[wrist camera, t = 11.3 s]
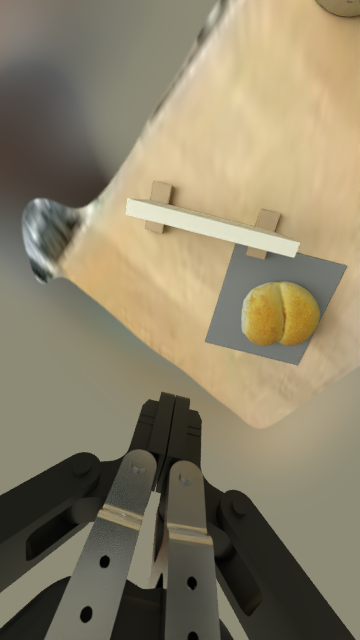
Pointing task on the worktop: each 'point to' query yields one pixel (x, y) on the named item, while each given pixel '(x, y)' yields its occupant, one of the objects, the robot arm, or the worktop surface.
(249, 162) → the worktop surface
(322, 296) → the mat
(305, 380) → the worktop surface
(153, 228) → the screen
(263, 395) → the worktop surface
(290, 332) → the bread roll
